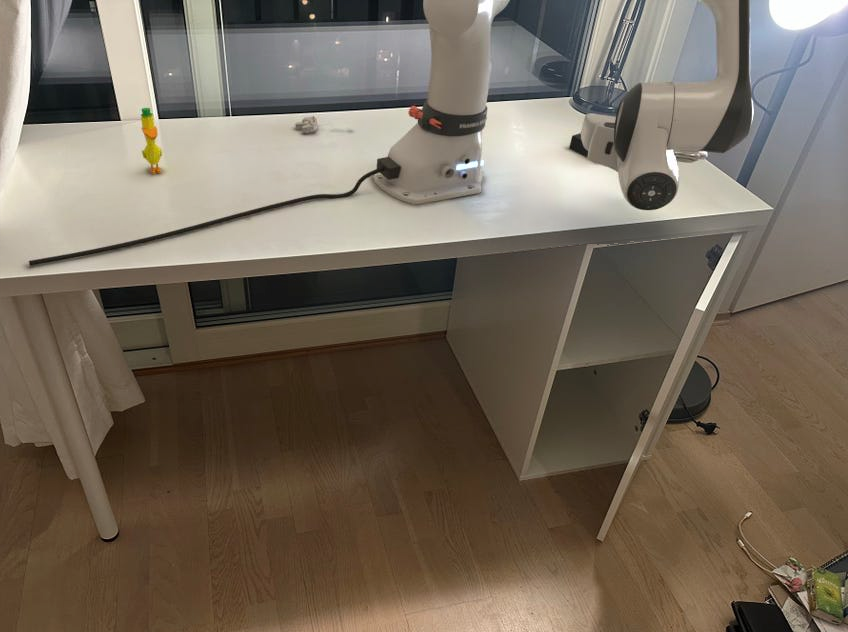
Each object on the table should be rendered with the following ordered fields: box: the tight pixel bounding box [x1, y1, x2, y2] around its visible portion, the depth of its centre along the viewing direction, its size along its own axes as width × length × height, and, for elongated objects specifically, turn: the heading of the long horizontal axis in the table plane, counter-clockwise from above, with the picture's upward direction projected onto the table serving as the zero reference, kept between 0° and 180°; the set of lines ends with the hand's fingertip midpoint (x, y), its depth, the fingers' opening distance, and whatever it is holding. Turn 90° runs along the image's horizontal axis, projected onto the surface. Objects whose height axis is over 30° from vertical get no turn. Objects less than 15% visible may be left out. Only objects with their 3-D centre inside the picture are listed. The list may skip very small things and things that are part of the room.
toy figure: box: [140, 107, 163, 175], centre depth 131 cm, size 7×4×12 cm, turn 24°
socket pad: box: [568, 132, 588, 159], centre depth 155 cm, size 8×15×3 cm, turn 126°
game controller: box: [294, 115, 350, 134], centre depth 154 cm, size 6×12×3 cm, turn 109°
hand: (638, 120), depth 128 cm, fingers closed on pill bottle, 5 cm apart
